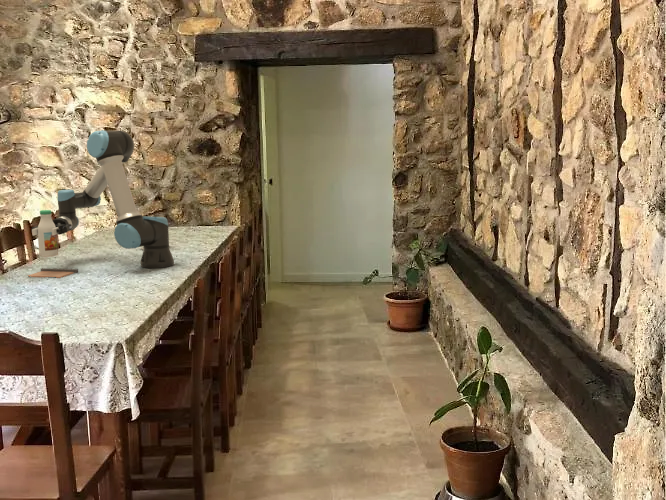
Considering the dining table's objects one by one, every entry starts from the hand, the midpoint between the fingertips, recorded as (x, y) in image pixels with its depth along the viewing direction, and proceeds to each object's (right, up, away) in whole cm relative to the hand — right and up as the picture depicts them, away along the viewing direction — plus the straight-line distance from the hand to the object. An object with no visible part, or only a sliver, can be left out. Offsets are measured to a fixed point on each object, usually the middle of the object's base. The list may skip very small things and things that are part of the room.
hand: (42, 232), depth 292 cm
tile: (0, -19, +8) cm, 20 cm away
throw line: (+1, -18, +14) cm, 23 cm away
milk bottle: (0, -10, +7) cm, 12 cm away
